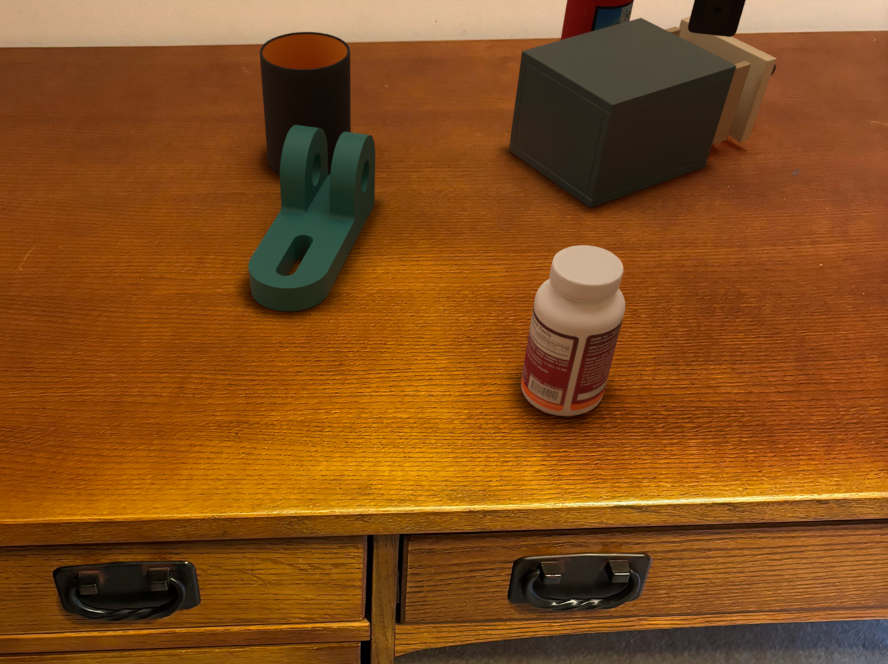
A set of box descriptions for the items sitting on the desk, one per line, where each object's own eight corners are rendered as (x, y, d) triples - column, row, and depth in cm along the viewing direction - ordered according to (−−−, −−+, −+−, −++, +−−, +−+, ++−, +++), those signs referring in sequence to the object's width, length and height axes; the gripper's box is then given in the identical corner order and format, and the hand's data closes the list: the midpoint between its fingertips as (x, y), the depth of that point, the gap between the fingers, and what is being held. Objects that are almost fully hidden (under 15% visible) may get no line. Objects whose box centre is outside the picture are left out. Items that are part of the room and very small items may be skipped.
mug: (322, 117, 97) (319, 11, 89) (362, 171, 89) (363, 61, 81) (247, 131, 95) (237, 24, 87) (282, 187, 88) (274, 76, 80)
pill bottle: (595, 365, 71) (628, 238, 62) (608, 420, 67) (645, 292, 58) (514, 364, 71) (536, 237, 62) (523, 419, 67) (547, 291, 58)
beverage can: (601, 102, 98) (627, -21, 89) (543, 88, 101) (563, -34, 91) (624, 78, 102) (651, -43, 93) (567, 65, 104) (588, -55, 95)
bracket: (306, 193, 87) (302, 111, 81) (374, 204, 86) (375, 121, 80) (239, 303, 76) (229, 217, 70) (316, 317, 75) (313, 230, 69)
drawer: (698, 85, 99) (720, 7, 93) (779, 129, 93) (808, 48, 87) (570, 126, 93) (585, 45, 87) (647, 175, 87) (669, 92, 81)
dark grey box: (619, 115, 97) (641, 17, 89) (705, 167, 90) (737, 65, 82) (508, 150, 92) (521, 50, 84) (590, 208, 85) (612, 104, 78)
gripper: (880, -289, 46) (765, 63, 59) (870, -341, 57) (774, -32, 70) (726, -295, 48) (648, 49, 61) (744, -345, 58) (674, -42, 71)
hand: (715, 5), depth 65 cm, fingers open, 9 cm apart
